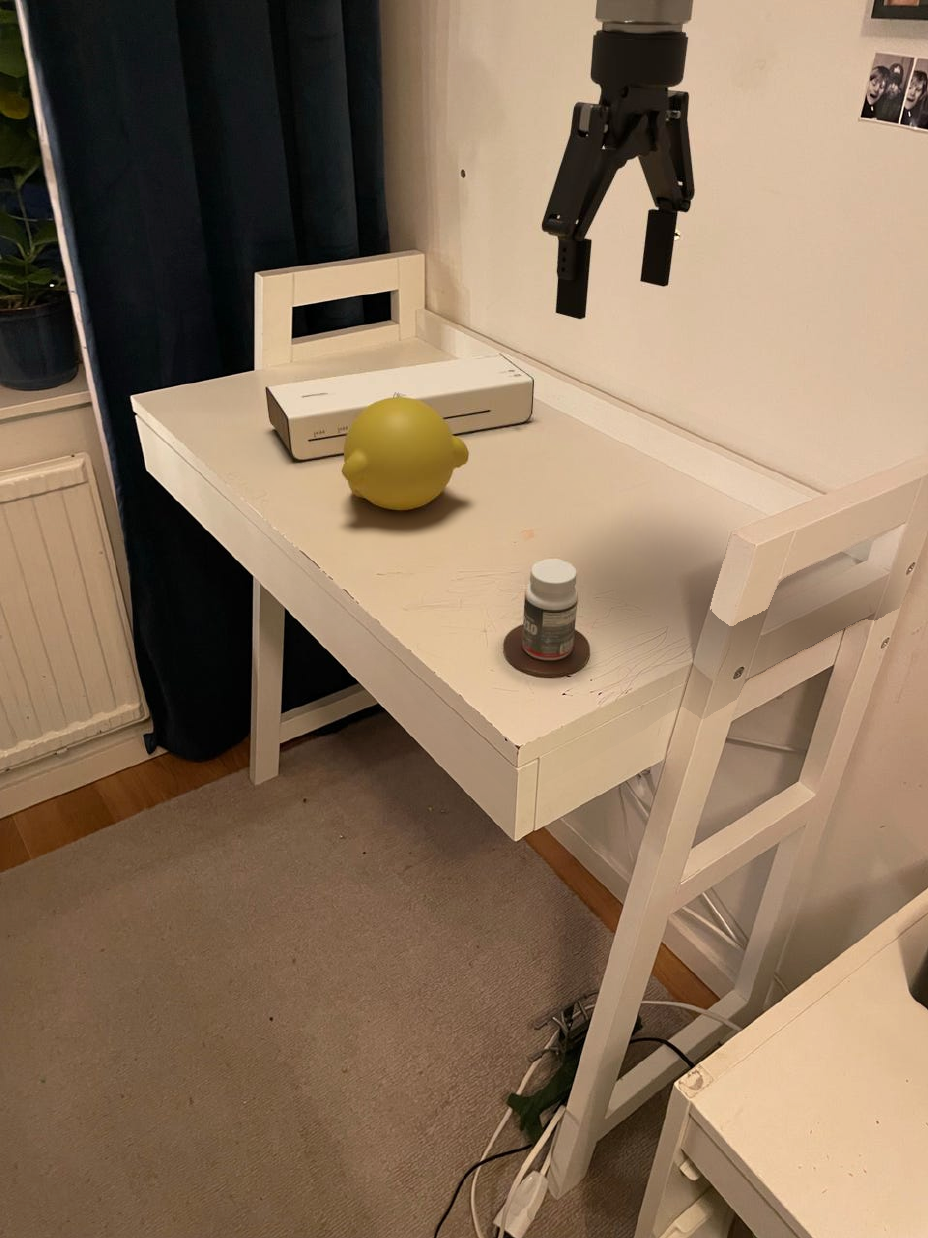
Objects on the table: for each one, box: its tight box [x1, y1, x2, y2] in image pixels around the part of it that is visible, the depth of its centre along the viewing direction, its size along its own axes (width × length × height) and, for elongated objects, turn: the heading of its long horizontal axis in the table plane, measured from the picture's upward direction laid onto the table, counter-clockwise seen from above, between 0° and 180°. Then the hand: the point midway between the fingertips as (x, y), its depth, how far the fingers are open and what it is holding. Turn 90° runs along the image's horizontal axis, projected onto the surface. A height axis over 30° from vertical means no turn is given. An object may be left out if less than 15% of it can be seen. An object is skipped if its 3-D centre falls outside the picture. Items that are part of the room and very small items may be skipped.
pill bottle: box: [522, 558, 579, 660], centre depth 84 cm, size 5×5×8 cm
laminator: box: [264, 352, 535, 462], centre depth 126 cm, size 34×12×6 cm, turn 113°
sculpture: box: [341, 397, 470, 511], centre depth 106 cm, size 15×13×13 cm
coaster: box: [502, 624, 591, 678], centre depth 87 cm, size 8×8×1 cm
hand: (614, 298), depth 87 cm, fingers open, 13 cm apart
